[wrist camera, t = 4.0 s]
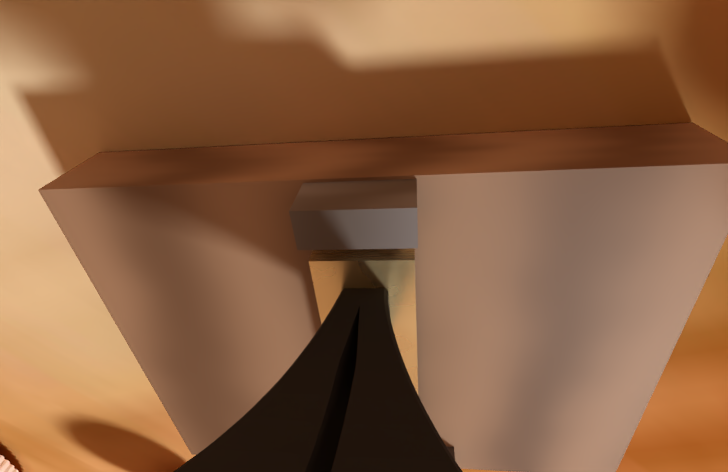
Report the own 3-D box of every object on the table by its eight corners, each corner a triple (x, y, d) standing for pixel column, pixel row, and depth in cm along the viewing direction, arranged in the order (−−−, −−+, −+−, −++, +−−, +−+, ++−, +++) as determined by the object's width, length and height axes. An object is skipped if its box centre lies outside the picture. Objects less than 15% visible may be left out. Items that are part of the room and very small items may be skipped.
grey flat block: (692, 122, 13) (813, 192, 9) (589, 415, 21) (629, 516, 17) (99, 152, 15) (-6, 216, 11) (215, 401, 23) (176, 487, 20)
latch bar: (414, 243, 12) (414, 264, 11) (420, 467, 19) (420, 490, 18) (314, 245, 12) (307, 265, 12) (355, 463, 19) (353, 486, 18)
